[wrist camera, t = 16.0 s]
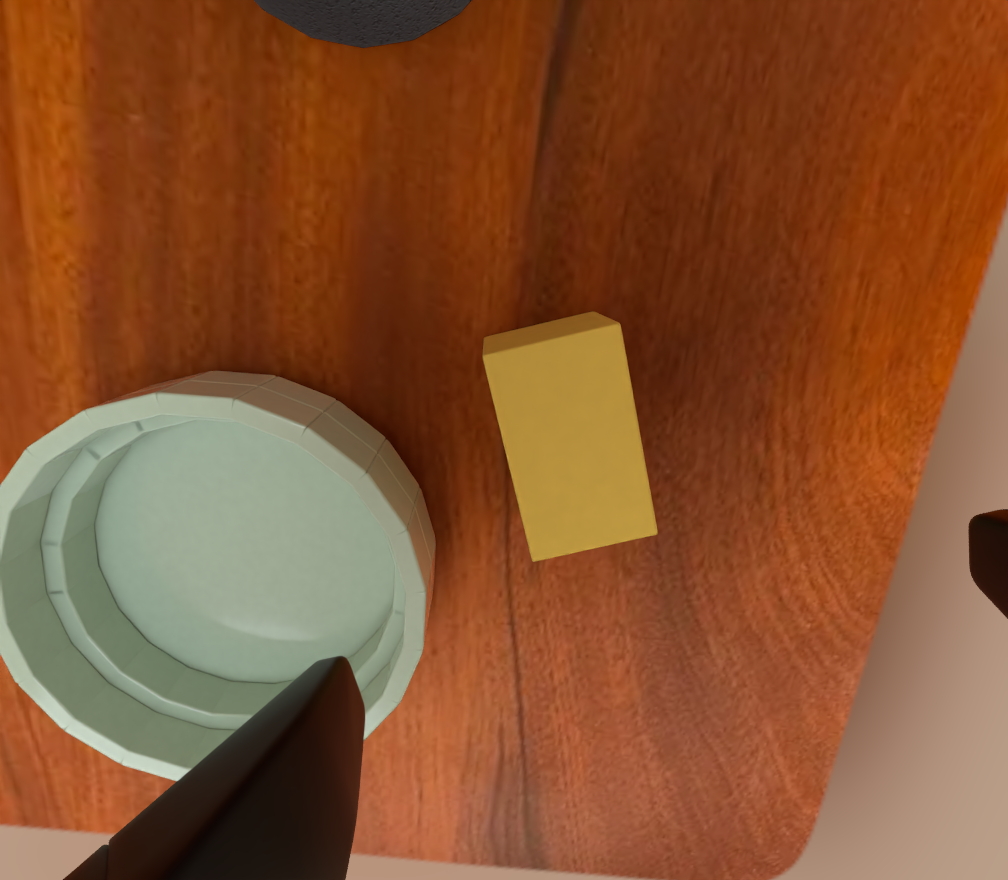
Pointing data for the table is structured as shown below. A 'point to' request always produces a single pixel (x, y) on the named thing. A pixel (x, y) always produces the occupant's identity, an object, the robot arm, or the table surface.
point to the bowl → (208, 563)
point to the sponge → (570, 434)
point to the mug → (364, 18)
